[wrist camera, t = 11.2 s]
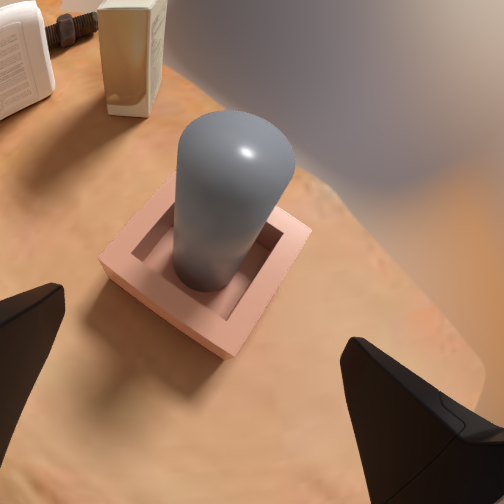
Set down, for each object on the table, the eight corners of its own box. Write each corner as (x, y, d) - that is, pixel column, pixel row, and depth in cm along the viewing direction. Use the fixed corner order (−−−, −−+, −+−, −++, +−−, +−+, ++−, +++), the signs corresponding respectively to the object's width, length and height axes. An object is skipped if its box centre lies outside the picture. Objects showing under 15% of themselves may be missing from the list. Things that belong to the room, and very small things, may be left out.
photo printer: (53, 75, 27) (38, -14, 16) (59, 94, 26) (41, -3, 15) (-22, 114, 23) (-55, 33, 12) (-22, 136, 22) (-62, 50, 11)
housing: (224, 360, 21) (234, 356, 18) (109, 277, 21) (97, 258, 18) (292, 251, 26) (312, 229, 22) (189, 183, 26) (193, 152, 22)
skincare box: (124, 78, 29) (123, -21, 18) (162, 80, 30) (171, -20, 19) (105, 118, 26) (94, 7, 15) (148, 120, 27) (151, 7, 16)
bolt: (99, 44, 33) (-2, 84, 27) (92, 19, 32) (-6, 57, 26) (103, 22, 28) (-11, 66, 22) (96, -4, 27) (-14, 36, 20)
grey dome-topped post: (195, 304, 21) (220, 223, 11) (161, 250, 22) (157, 131, 11) (249, 271, 23) (317, 173, 12) (214, 221, 24) (251, 100, 13)
